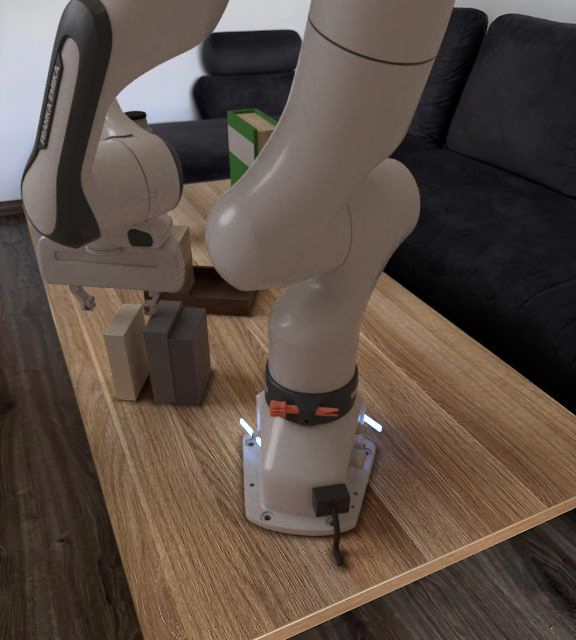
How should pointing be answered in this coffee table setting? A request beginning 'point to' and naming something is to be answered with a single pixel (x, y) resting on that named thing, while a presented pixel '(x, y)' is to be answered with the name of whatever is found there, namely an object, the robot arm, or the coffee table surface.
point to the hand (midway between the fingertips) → (120, 311)
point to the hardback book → (246, 138)
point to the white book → (127, 351)
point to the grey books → (178, 353)
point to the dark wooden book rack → (205, 285)
